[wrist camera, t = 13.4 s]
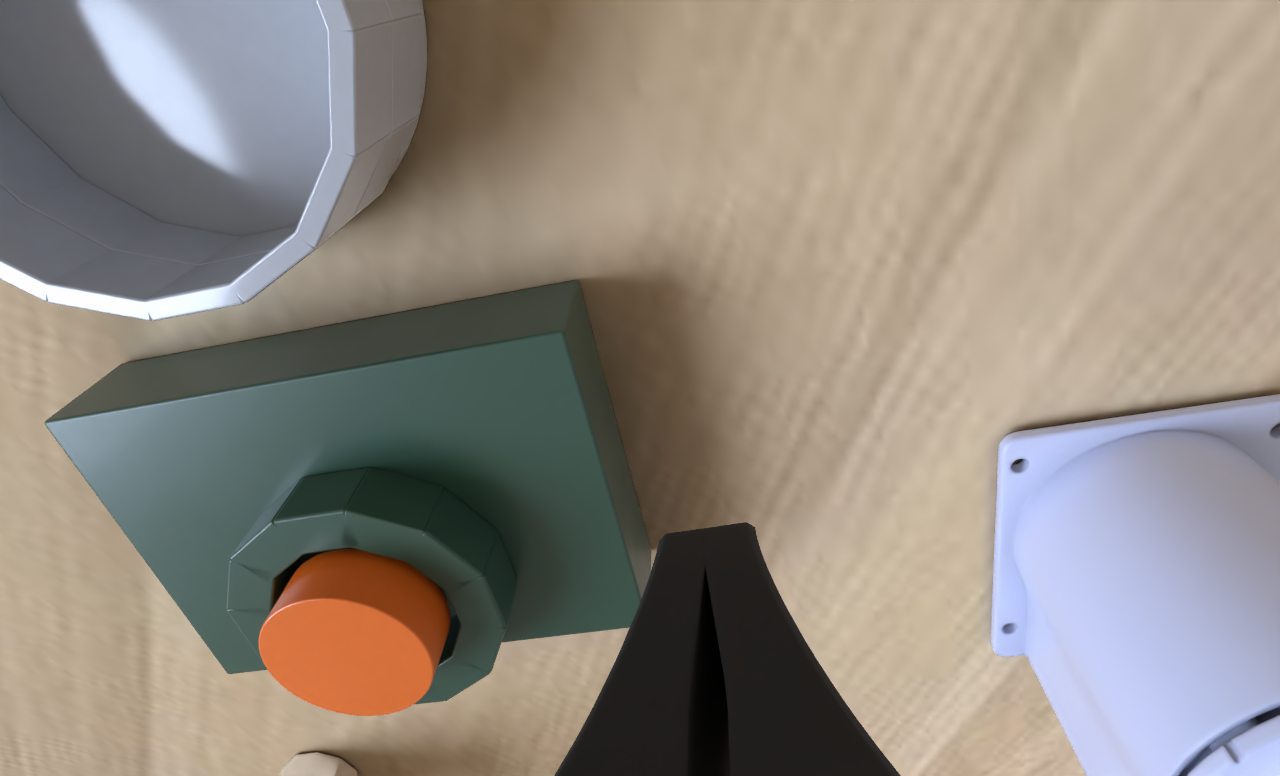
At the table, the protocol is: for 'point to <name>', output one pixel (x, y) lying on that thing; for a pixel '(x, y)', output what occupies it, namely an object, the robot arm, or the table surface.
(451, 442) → the control box
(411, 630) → the button
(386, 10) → the pot
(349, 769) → the milkshake
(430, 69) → the table surface
